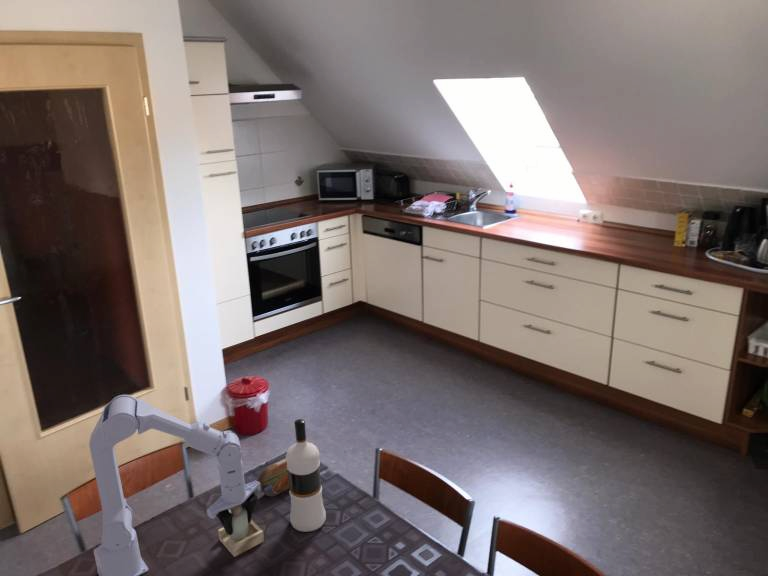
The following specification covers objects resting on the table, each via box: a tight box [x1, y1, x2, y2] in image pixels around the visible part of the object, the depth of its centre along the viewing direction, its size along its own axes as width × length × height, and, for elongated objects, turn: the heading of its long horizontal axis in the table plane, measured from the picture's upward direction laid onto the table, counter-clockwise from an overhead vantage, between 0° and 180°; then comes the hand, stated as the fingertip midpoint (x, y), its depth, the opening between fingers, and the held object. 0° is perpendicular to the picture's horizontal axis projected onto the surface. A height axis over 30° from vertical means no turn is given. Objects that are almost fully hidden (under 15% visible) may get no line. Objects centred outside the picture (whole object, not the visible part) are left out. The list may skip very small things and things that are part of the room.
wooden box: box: [217, 519, 265, 558], centre depth 156 cm, size 8×8×3 cm
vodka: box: [285, 418, 327, 533], centre depth 157 cm, size 9×9×30 cm
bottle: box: [228, 504, 249, 540], centre depth 154 cm, size 5×5×8 cm
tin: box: [258, 457, 290, 497], centre depth 175 cm, size 15×3×8 cm, turn 129°
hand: (238, 526), depth 154 cm, fingers closed on bottle, 5 cm apart
